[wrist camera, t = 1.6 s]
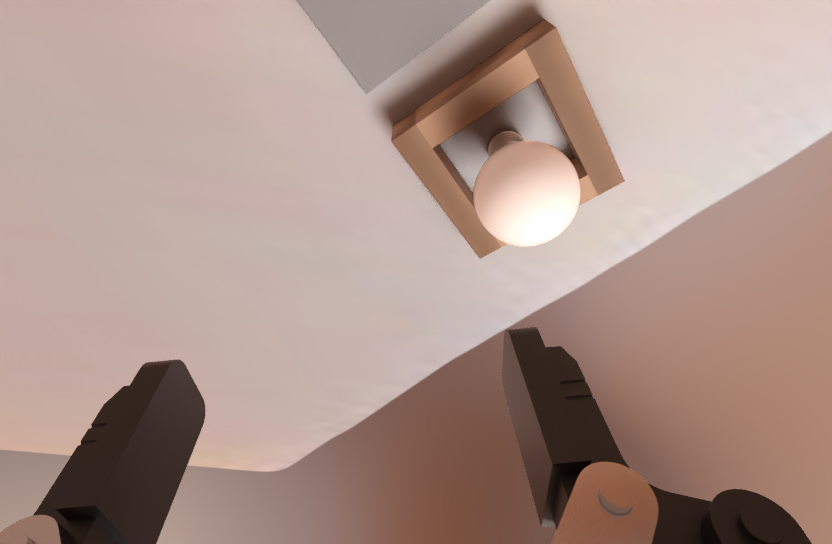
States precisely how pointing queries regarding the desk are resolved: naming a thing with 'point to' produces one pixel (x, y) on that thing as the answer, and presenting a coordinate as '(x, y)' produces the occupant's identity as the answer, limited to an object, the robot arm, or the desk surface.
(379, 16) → the mat
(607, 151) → the holder
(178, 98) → the desk surface
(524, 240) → the lightbulb
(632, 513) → the robot arm
